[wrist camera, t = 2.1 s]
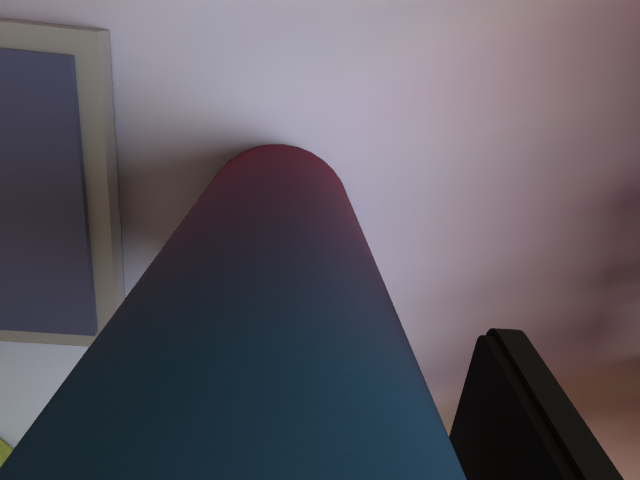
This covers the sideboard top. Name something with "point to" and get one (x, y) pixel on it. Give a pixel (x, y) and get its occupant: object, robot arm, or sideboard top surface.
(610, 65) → the sideboard top surface
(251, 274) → the cup
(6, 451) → the plant pot
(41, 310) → the ink pad
